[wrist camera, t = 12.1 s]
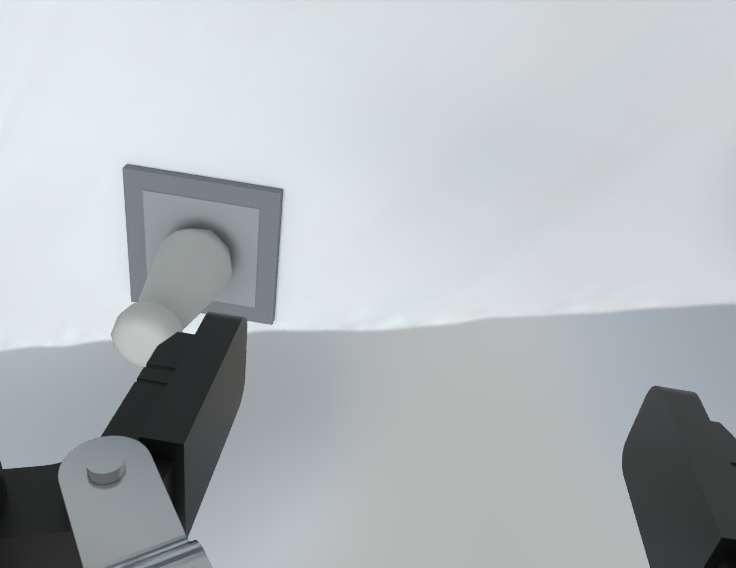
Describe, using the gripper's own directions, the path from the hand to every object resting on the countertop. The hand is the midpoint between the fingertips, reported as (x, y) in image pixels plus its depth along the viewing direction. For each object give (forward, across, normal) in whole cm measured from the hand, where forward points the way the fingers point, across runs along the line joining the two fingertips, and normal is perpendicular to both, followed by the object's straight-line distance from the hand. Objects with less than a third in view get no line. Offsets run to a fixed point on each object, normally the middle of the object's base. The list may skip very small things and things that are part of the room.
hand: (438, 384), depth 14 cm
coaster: (+36, +16, +19) cm, 44 cm away
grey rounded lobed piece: (+35, +16, +19) cm, 43 cm away
